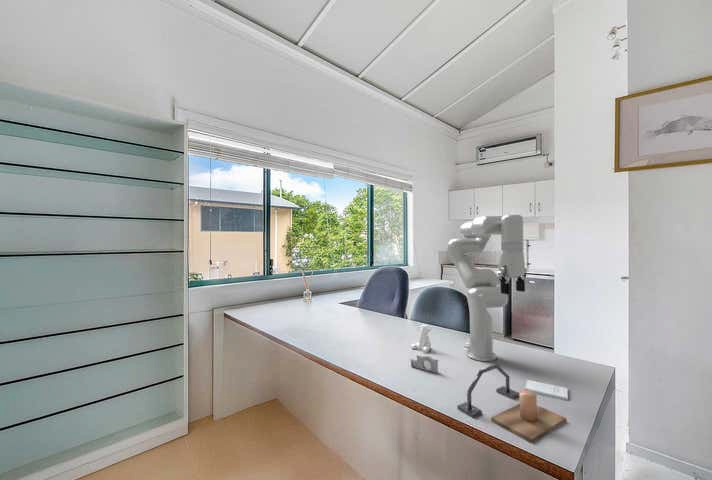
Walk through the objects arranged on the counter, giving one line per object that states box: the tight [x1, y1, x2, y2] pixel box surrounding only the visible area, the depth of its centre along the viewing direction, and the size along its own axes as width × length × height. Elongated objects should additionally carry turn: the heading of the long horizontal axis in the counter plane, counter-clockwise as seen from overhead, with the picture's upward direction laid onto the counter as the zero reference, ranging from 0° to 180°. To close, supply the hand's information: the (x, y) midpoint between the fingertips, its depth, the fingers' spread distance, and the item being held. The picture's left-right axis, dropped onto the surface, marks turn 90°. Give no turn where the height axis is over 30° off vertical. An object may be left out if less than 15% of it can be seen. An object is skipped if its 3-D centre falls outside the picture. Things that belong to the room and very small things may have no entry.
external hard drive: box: [524, 379, 569, 401], centre depth 111 cm, size 2×8×12 cm
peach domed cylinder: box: [519, 389, 538, 421], centre depth 93 cm, size 4×4×7 cm
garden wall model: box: [410, 354, 439, 373], centre depth 131 cm, size 12×2×6 cm, turn 54°
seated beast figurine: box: [410, 324, 432, 354], centre depth 154 cm, size 10×9×12 cm
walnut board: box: [490, 403, 567, 444], centre depth 93 cm, size 12×18×1 cm, turn 121°
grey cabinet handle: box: [457, 363, 520, 418], centre depth 104 cm, size 6×24×12 cm, turn 121°
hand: (513, 292), depth 119 cm, fingers open, 9 cm apart
